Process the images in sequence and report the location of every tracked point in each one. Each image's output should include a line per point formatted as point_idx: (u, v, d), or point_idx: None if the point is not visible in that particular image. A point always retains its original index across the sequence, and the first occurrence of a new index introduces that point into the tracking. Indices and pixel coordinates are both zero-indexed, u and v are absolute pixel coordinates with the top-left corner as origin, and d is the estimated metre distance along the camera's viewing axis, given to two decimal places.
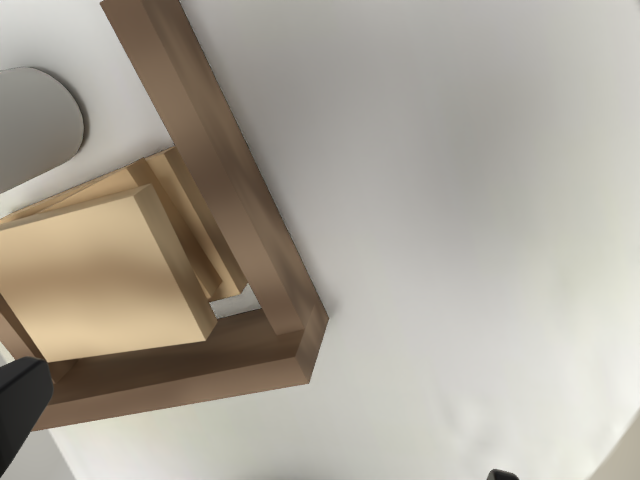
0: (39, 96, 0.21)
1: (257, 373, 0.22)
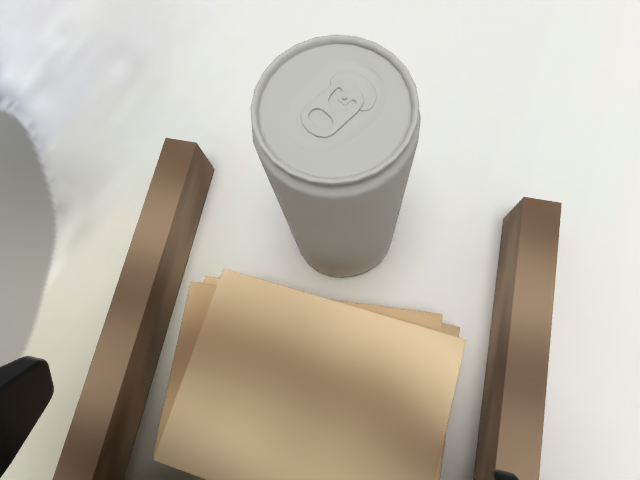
0: None
1: None
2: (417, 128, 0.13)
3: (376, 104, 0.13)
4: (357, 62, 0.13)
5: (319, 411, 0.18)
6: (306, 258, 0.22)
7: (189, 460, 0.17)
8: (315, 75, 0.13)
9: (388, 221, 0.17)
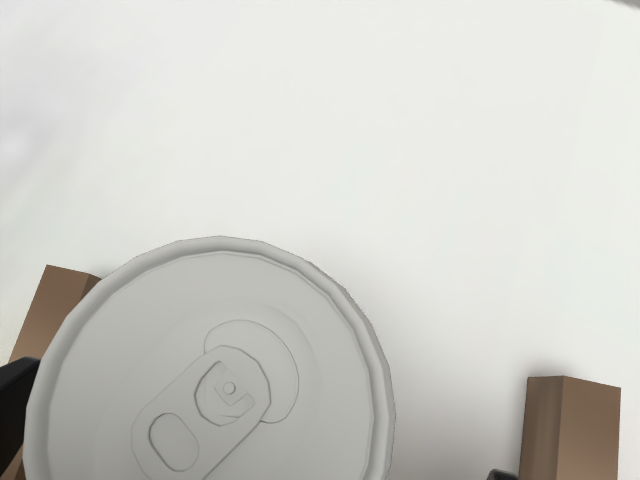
0: None
1: None
2: (388, 448, 0.06)
3: (299, 407, 0.06)
4: (263, 299, 0.06)
5: None
6: None
7: None
8: (173, 330, 0.06)
9: None
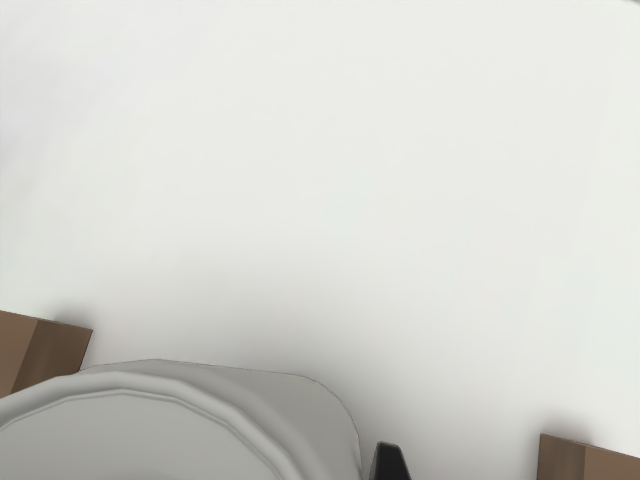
0: None
1: None
2: None
3: None
4: (178, 472, 0.04)
5: None
6: None
7: None
8: None
9: None
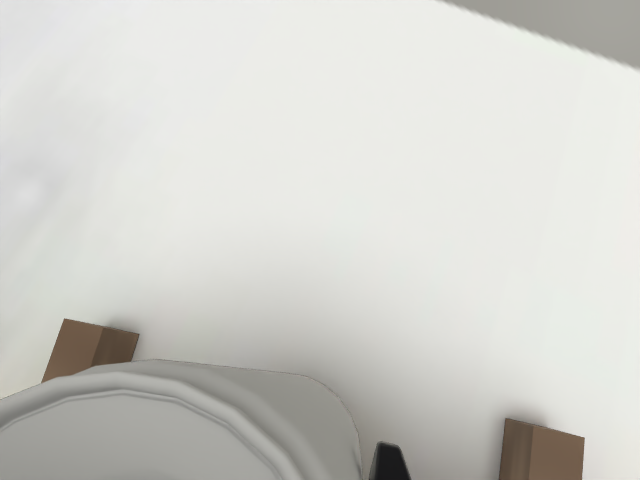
0: None
1: None
2: None
3: None
4: (178, 472, 0.04)
5: None
6: None
7: None
8: None
9: None
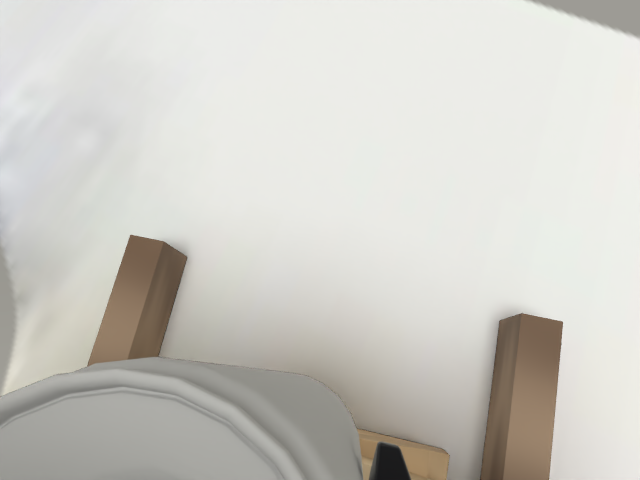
0: (361, 460, 0.13)
1: None
2: None
3: None
4: (178, 469, 0.04)
5: None
6: None
7: None
8: None
9: None
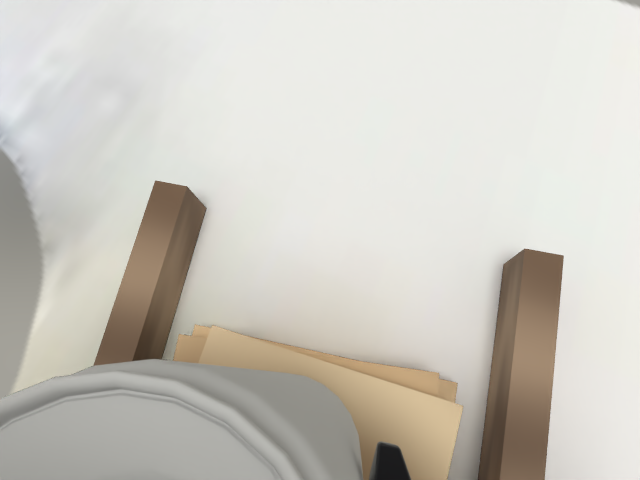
0: None
1: None
2: None
3: None
4: (177, 472, 0.04)
5: None
6: None
7: None
8: None
9: None
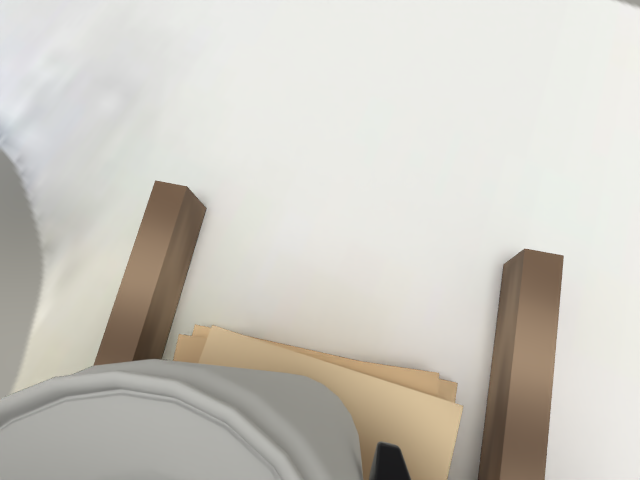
0: None
1: None
2: None
3: None
4: (177, 472, 0.04)
5: None
6: None
7: None
8: None
9: None
